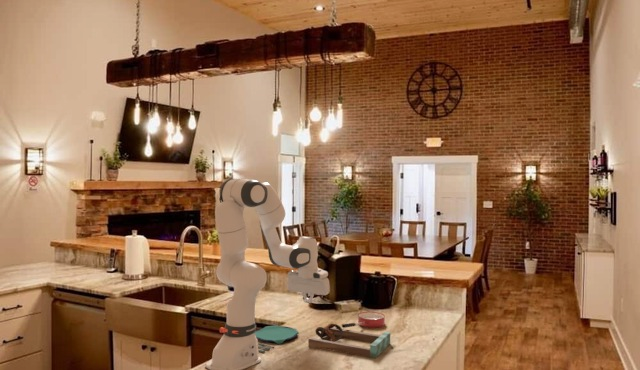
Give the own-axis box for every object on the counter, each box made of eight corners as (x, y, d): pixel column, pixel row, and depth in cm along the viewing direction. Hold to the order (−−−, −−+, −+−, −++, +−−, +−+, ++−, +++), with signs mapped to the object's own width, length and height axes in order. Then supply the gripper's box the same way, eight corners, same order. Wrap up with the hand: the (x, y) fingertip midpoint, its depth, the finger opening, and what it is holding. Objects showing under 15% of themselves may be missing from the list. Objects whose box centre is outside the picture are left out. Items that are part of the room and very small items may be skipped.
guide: (375, 358, 200) (375, 346, 200) (308, 345, 213) (308, 334, 213) (390, 343, 217) (390, 332, 217) (327, 333, 230) (327, 322, 230)
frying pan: (361, 342, 219) (361, 327, 219) (335, 336, 226) (335, 322, 225) (388, 322, 247) (388, 310, 247) (364, 318, 253) (365, 306, 253)
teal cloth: (306, 334, 229) (306, 329, 228) (267, 356, 203) (266, 350, 203) (271, 327, 239) (270, 322, 239) (229, 347, 213) (229, 342, 213)
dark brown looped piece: (337, 336, 227) (343, 323, 224) (339, 352, 219) (345, 339, 215) (312, 331, 225) (318, 317, 221) (313, 347, 217) (318, 333, 213)
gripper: (284, 271, 225) (284, 301, 225) (325, 275, 216) (325, 307, 217) (291, 268, 231) (291, 298, 231) (331, 272, 222) (331, 303, 222)
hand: (308, 302), depth 224 cm, fingers closed
